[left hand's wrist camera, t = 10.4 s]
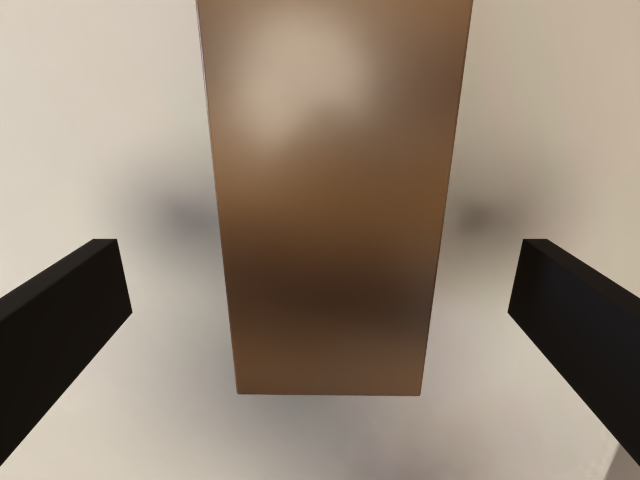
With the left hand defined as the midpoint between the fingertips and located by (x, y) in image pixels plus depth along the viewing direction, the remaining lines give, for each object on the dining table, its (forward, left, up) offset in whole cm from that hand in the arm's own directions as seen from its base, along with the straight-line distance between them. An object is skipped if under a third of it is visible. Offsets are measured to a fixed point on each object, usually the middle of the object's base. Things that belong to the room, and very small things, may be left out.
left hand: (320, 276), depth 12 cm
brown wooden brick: (+6, -1, -6) cm, 9 cm away
